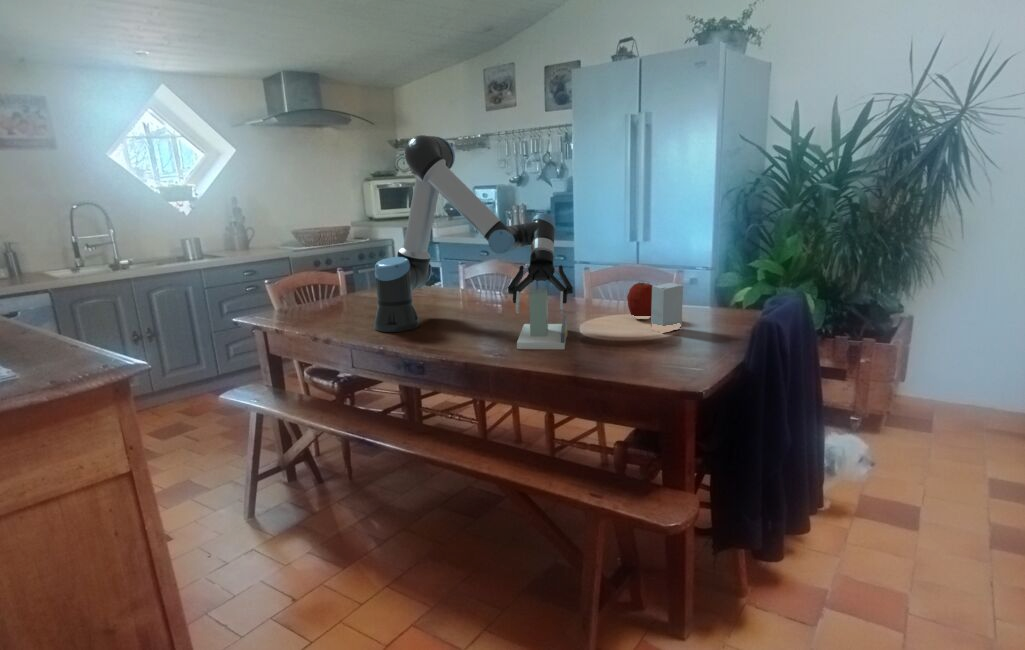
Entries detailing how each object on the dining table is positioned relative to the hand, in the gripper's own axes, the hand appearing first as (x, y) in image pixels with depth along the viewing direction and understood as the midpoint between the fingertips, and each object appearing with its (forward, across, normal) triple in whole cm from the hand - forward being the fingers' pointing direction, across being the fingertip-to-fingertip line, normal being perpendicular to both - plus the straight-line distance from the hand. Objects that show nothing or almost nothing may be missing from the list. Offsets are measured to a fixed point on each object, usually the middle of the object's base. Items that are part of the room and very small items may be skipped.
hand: (539, 311), depth 181 cm
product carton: (+4, 0, -6) cm, 7 cm away
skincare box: (-2, -40, -15) cm, 43 cm away
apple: (-12, -34, -25) cm, 44 cm away
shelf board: (+5, -1, -8) cm, 9 cm away
